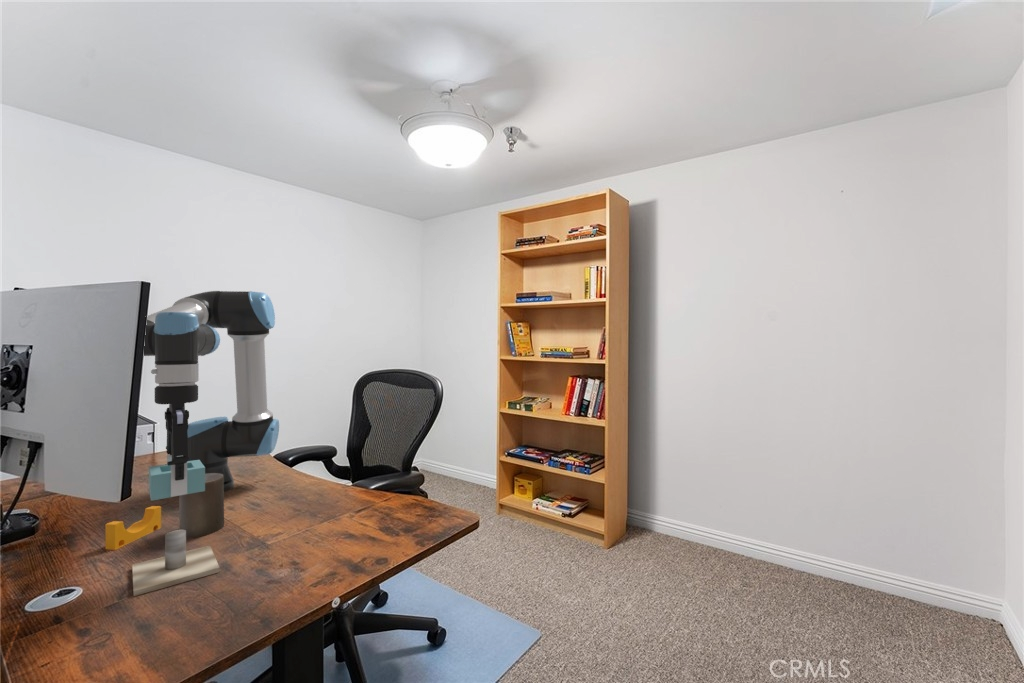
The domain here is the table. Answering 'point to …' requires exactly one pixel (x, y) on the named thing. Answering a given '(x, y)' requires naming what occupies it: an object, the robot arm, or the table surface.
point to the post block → (173, 565)
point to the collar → (162, 479)
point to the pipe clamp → (132, 529)
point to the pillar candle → (203, 508)
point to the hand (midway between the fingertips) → (176, 489)
